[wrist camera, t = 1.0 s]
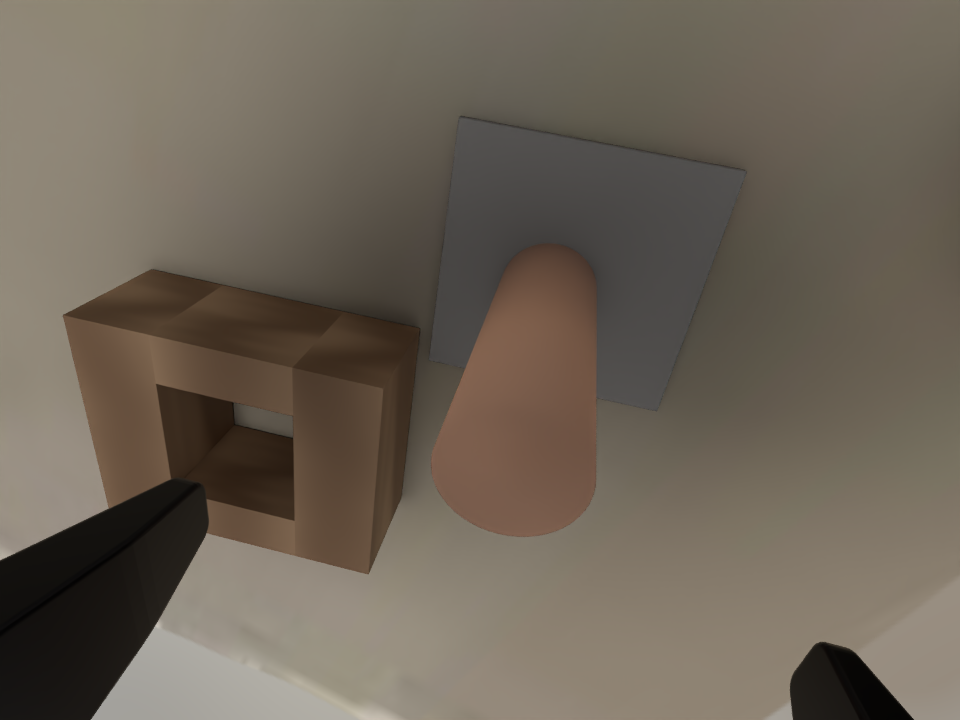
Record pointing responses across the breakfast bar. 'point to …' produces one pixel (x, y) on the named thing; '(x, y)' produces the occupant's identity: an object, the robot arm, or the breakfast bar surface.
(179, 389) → the hole block
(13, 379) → the breakfast bar surface
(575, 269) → the peg
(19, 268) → the breakfast bar surface
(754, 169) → the breakfast bar surface
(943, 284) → the breakfast bar surface
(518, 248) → the mat
